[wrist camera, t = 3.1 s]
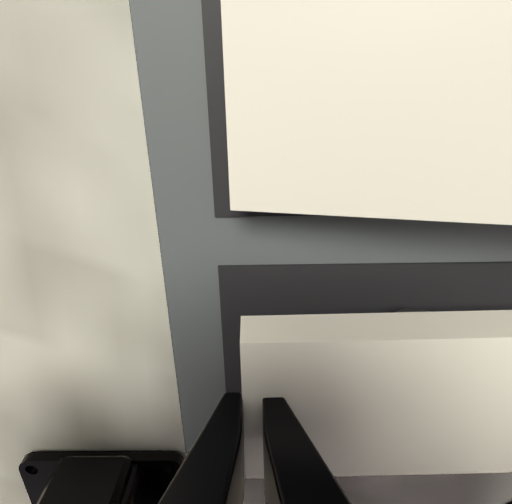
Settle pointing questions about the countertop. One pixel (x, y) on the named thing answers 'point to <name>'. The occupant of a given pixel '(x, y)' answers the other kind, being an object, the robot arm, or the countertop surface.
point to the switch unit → (271, 226)
